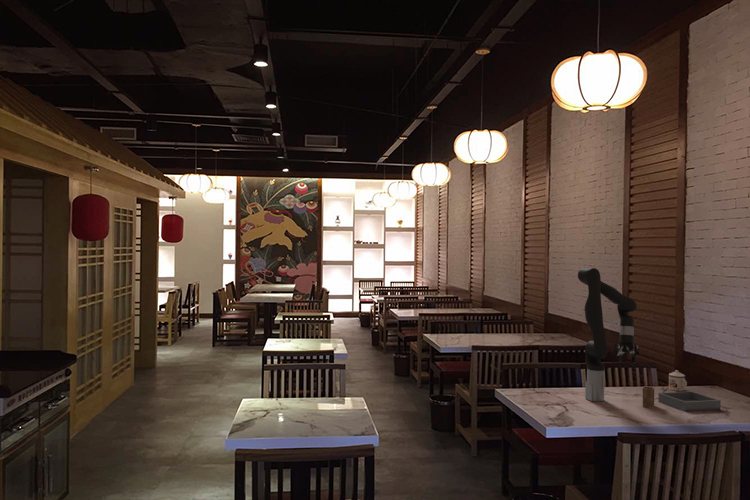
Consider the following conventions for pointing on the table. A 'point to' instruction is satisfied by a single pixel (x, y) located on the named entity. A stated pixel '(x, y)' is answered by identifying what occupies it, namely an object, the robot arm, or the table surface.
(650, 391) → the walnut crate
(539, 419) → the table surface
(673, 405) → the grey tray
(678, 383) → the teacup with lid
